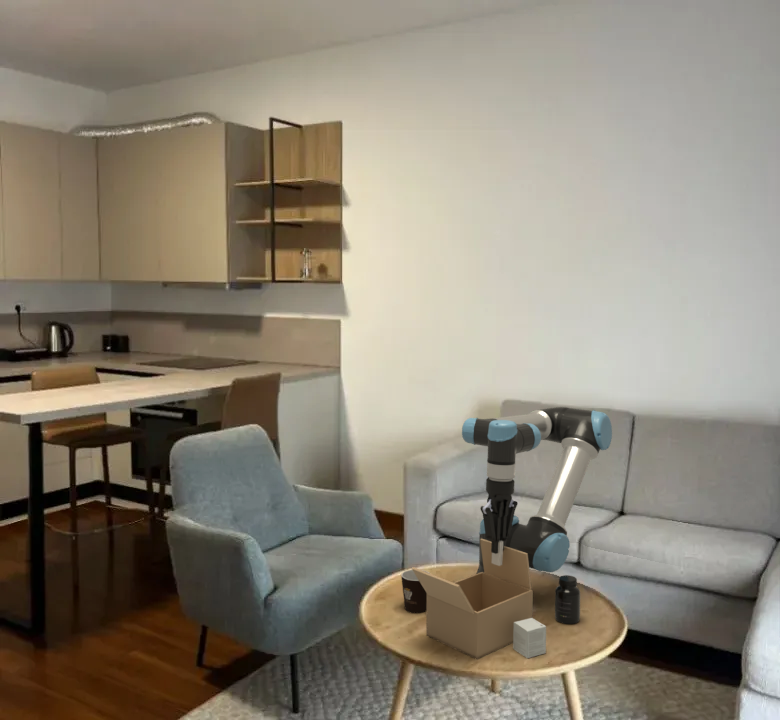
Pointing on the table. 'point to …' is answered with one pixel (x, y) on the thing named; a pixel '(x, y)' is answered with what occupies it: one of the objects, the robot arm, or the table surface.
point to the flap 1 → (443, 590)
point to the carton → (479, 615)
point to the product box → (529, 638)
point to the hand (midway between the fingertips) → (496, 564)
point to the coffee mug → (413, 593)
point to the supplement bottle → (567, 600)
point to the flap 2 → (507, 565)
